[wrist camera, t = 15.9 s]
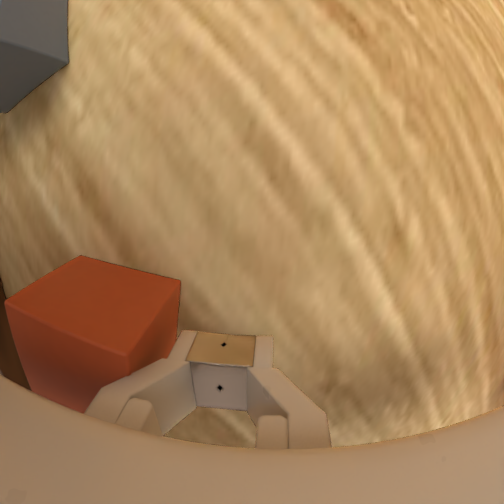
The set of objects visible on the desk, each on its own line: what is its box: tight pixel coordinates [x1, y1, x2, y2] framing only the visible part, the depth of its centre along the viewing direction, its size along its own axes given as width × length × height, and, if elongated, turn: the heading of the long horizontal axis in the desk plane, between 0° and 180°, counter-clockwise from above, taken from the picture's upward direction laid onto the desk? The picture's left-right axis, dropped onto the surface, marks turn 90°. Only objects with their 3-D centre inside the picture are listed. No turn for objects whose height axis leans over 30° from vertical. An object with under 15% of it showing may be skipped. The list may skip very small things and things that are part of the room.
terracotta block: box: [4, 255, 181, 414], centre depth 8 cm, size 4×4×4 cm
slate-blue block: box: [0, 0, 69, 113], centre depth 5 cm, size 4×4×4 cm
